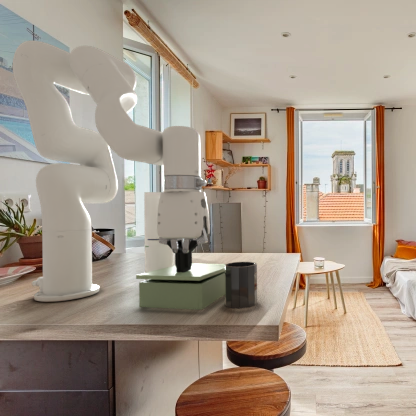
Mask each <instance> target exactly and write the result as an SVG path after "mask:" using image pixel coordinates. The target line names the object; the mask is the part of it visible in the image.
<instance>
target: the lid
mask: <svg viewBox="0 0 416 416" xmlns="http://www.w3.org/2000/svg"><path fill="white" fill-rule="evenodd" d="M226 264H227V263H197V262H195V263H193V262H192V267H191V270H189V271H186V272H176V267H175V265H174V266H171V267H167V268H163V269H159V270H155V271H151V272H146V273H145V272H143V273H139V274H136V275H135V279H136V280H145V279H159V280H195V281H200V280H203V279H205V278H208V277H211V276H213V275H216V274H219V273H221V272H224V271H225V265H226Z"/></svg>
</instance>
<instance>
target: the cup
mask: <svg viewBox="0 0 416 416" xmlns="http://www.w3.org/2000/svg"><path fill="white" fill-rule="evenodd" d="M225 264H226V265H225V295H224V305H225V307H226V308H229V309H237V310H238V309H248V308H251V307H255V306H256V305H257V304H258V263H256V262H254V261H253V262H252V261H235V262H228V263H225Z"/></svg>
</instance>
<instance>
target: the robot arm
mask: <svg viewBox="0 0 416 416" xmlns="http://www.w3.org/2000/svg"><path fill="white" fill-rule="evenodd" d="M12 74H13V78H14V82H15V84H16V87H17V89H18V91H19V93H20V96H21V97H22V100H23V102H24V105H25V108H26V112H27V117H28V121H29V125H30V129H31V134H32V138H33V141H34V145H35V148H36V151H37V153H38V154H39V155H40V156H41V157H43V158H44V159H47V160H52V161H57V162H54V163H50V164H47V165H45V166H43V167H41V168H40V169H39V171H38V172H37V174H36V177H35V187H36V192H37V196H38V200H39V204H40V211H41V231H42V232H41V233H42V235H41V236H42V239H41V240H42V243H41V244H42V276H38V278H37V279H36V280H33V281H32V282H31V286H32V287H39V291H37V292H35V293H34V294H33V299H34V301H37V302H41V303H42V302H43V303H44V302H45V303H50V302H51V303H52V302H64V301H70V300H71V301H72V300H76V299H81V298H86V297H89V296H93V295H95V294H97V293H99V292H100V289H101V287H100V285H98V284H94V283H93V244H92V243H93V241H92V239H93V237H92V236H93V234H92V233H93V232H92V231H93V230H92V228H93V227H92V219H91V215H90V214H89V212H88V210H87V208H86V207H85V205H84V204H107V203H109V202H111V201H113V200H114V199H115V197H116V196H117V195H118V191H119V183H118V176H117V173H116V168H115V164H114V161H113V160H114V159H113V158H112V157H113V156H112V153H111V151H112V152H113V153H115V154H116V155H117V156H118V157H120V158H122V159H123V160H127V161H132V162H138V163H145V164H149V165H154V166H162V189H163V190H162V191H160V192H161V194H160V199H159V204H158V214H157V232H158V236H159V243H161V244H165V245H168V246H169V247H170V248H171V249H172V252H173V253H174V266H175V267H176V272H186V271H189V270H191V267H192V263H193V252H194V251H195V249H196V248H197V247H198V246H199V245H203V244H207V243H208V242H209V239H208V236H209V235H210V233H211V223H210V222H211V221H210V213H209V212H210V211H209V205H208V199H207V196H206V192H205V191H202V189H203V187H206V186H207V180H206V179H203V178H202V174H201V173H202V172H201V171H202V169H201V163H202V162H201V135H200V133H199V131H198V130H197V129H196V128H193V127H190V126H184V125H172V126H168V127H166V128H164V130H162V131H160V130H157V129H154V128H150V127H147V126H144V125H140V124H137V123H136V122H135V121H133V119H132V118H131V117H130V115H129V114H128V113H129V112H131V111H132V110H133V109H134V108H135V107H136V104H137V102H138V95H137V93H136V91H135V88H136V86H137V75H136V73H135V71H134V69H133V68H132V67H131V66H130V65H129V64H128V63H127V62H125V61H123V60H121V59H120V58H118V57H116V56H114V55H112V54H110V53H108V52H106V51H104V50H102V49H100V48H98V47H95V46H92V45H78V46H76V47H75V48H73V49H72V50H71V51H70V52H69V51H66V50H64V49H63V48H59V47H58V46H56V45H53V44H50V43H48V42H44V41H40V40H26V41H23V42H22V43H20V44H19V45H18V46H17V48H16V49H15V51H14V55H13V58H12ZM55 85H57V86H59V87H63V88H65V89H68V90H71V91H74V92H76V93H79V94H82V95H88V96H90V97H91V98H92V101H94V103H95V104H96V106H95V107H96V108H95V111H94V121H95V127H96V129H97V131H96V130H93V129H90V128H86V127H83V126H79V125H78V124H77V123H75V121H74V118H73V114H72V110H71V107H70V105H69V103H68V100H66V98H65V97H64V95H63V94H62V93H61V91H60V90H59V89H58V88H57V86H55Z"/></svg>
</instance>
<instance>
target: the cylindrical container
mask: <svg viewBox="0 0 416 416" xmlns="http://www.w3.org/2000/svg"><path fill="white" fill-rule="evenodd" d="M161 192H162V191H145V192H144V194H143V195H144V196H143V197H144V199H143V201H144V208H143V209H144V211H143V213H144V215H143V216H144V217H143V218H144V273H146V272H151V271H155V270H159V269H163V268H167V267H171V266H175V253H173V252H172V249H171V248H170V247H169V246H168V245H165V244H161V243H159V236H158V232H157V214H158V204H159V199H160V194H161ZM145 280H148V279H144V281H145Z"/></svg>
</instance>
